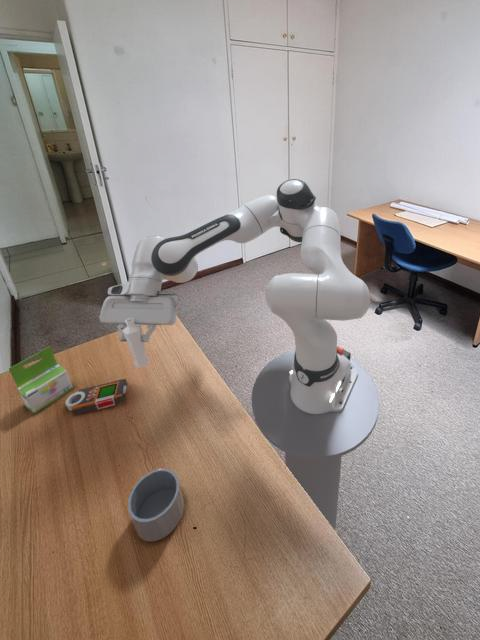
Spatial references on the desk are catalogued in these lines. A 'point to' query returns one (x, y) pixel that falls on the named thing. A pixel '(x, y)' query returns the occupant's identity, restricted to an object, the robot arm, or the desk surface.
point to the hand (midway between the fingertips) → (133, 341)
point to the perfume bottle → (135, 342)
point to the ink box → (41, 380)
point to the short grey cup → (156, 504)
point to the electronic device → (97, 397)
